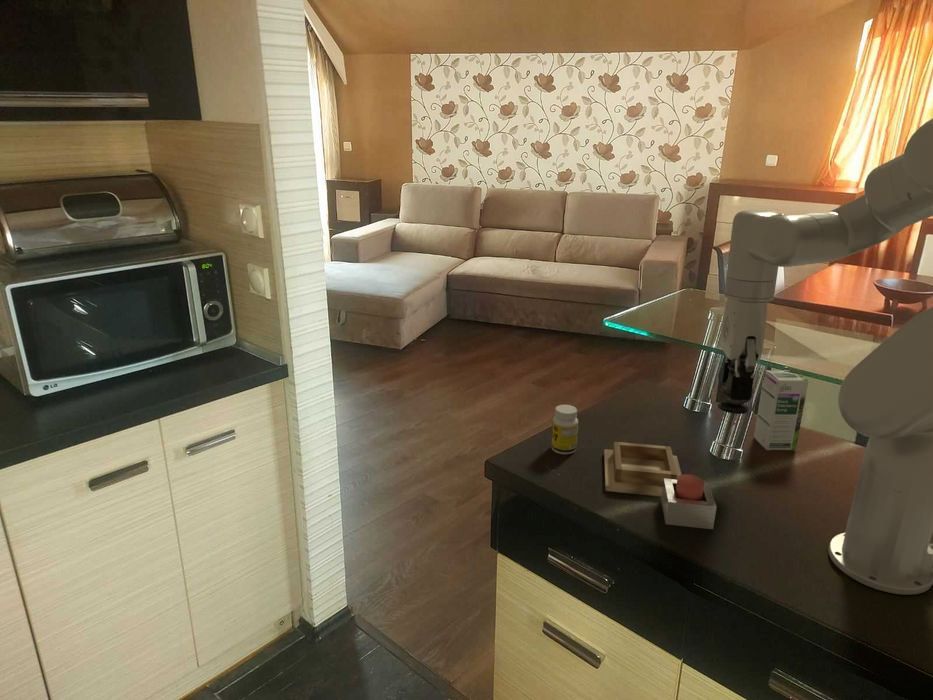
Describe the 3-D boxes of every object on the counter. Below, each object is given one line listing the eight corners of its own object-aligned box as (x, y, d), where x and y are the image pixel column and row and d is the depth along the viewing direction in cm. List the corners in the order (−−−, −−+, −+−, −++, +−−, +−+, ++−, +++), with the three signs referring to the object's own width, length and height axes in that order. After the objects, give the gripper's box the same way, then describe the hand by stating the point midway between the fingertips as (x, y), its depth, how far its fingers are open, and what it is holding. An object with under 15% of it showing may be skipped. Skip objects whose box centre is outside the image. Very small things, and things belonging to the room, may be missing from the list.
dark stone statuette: (713, 410, 110) (721, 343, 106) (717, 399, 115) (725, 334, 111) (750, 417, 107) (760, 348, 104) (753, 404, 112) (763, 339, 109)
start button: (699, 492, 103) (702, 475, 102) (703, 506, 99) (706, 489, 98) (673, 489, 104) (675, 473, 103) (676, 503, 100) (679, 486, 99)
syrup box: (766, 451, 122) (779, 380, 117) (752, 436, 128) (764, 368, 123) (796, 451, 122) (810, 380, 118) (781, 436, 128) (794, 368, 123)
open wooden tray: (676, 460, 119) (678, 443, 117) (685, 498, 107) (688, 480, 105) (604, 453, 121) (605, 437, 120) (605, 490, 109) (607, 472, 108)
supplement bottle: (549, 443, 125) (551, 403, 122) (573, 443, 125) (576, 403, 122) (553, 455, 120) (555, 414, 117) (578, 455, 120) (581, 414, 118)
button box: (705, 504, 105) (708, 482, 104) (713, 529, 99) (716, 506, 97) (661, 499, 106) (663, 478, 105) (665, 524, 100) (668, 501, 99)
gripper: (715, 277, 113) (704, 373, 119) (736, 299, 97) (722, 410, 103) (761, 278, 112) (747, 375, 118) (789, 301, 96) (772, 413, 102)
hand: (735, 390), depth 110 cm, fingers closed on dark stone statuette, 5 cm apart
